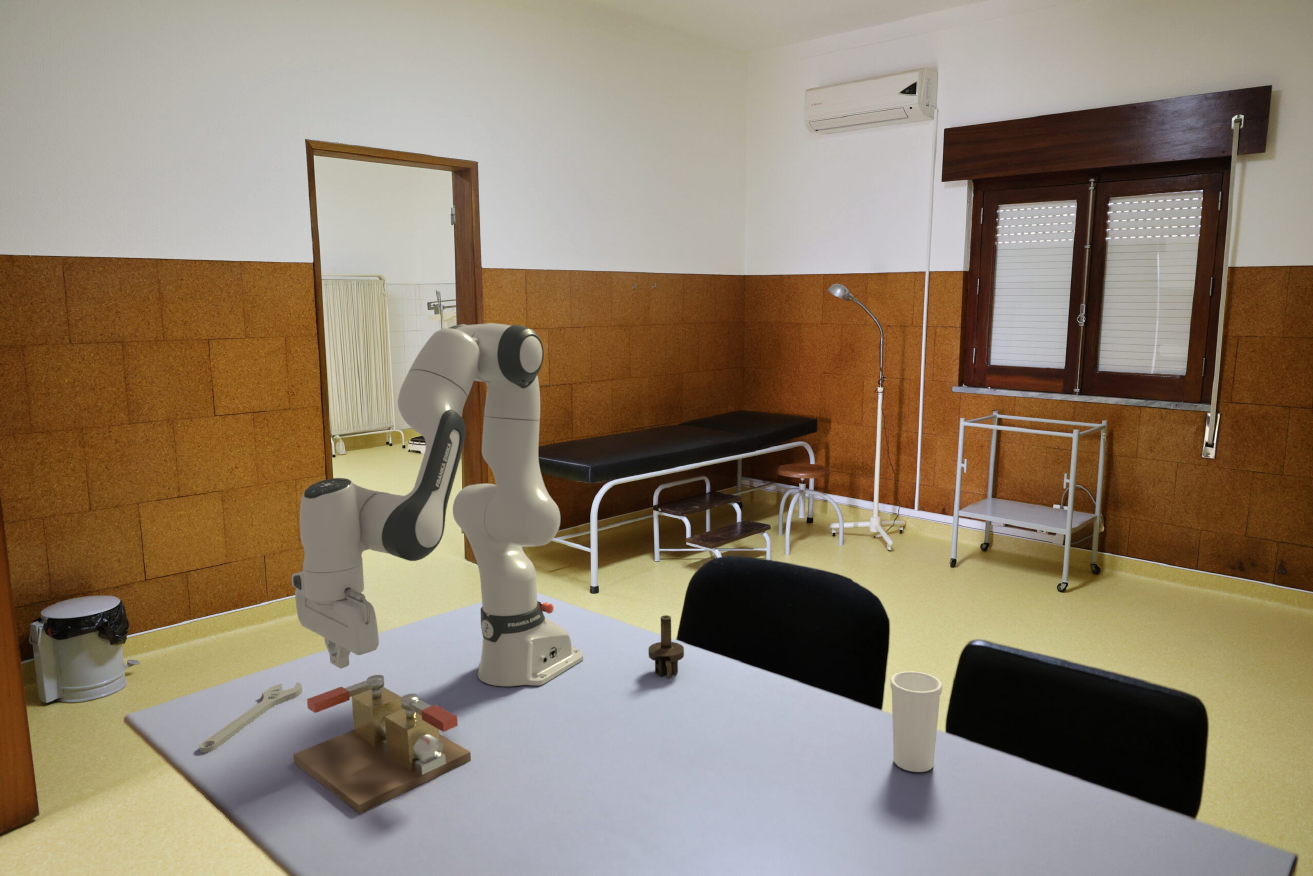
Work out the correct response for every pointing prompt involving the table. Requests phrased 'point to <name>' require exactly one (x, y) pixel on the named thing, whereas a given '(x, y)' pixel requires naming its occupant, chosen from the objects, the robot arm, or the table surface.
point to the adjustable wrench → (251, 715)
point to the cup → (915, 719)
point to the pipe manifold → (402, 727)
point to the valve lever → (343, 694)
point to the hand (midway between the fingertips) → (339, 665)
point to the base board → (368, 769)
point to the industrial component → (666, 651)
